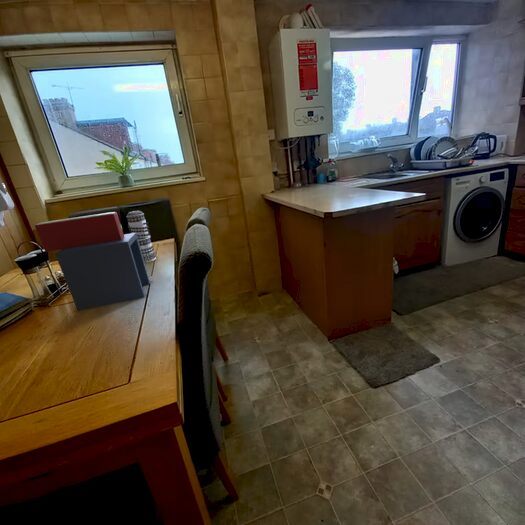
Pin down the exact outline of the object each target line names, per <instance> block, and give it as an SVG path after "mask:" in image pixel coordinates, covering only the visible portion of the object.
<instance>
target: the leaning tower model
mask: <svg viewBox="0 0 525 525" xmlns="http://www.w3.org/2000/svg"><path fill="white" fill-rule="evenodd" d="M126 218H127V223H128V224H127V228H128V231H129V232H130V233H136V235H137V238H138V242H139V245H140V249H141V252H142V256H143V259H144V263H145V264H147V263H151V262H153V261H155V260H157V257H156V256H157V255H156V252H155V249H154V245H153V243H152V241H151V233H150V229H149V228H150V226H148V224H149V223H148V222H147V221H146V218H145V213H144V212H143V211H141V210H133V211H129V212H128V213H127V215H126Z"/></svg>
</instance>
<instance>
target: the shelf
mask: <svg viewBox="0 0 525 525" xmlns="http://www.w3.org/2000/svg"><path fill="white" fill-rule="evenodd" d="M123 234H124V233H123ZM54 255H55V257H56V260H57V262H58V265H59V267H60V270H61V272H62V275H63V278H64V280H65V284H66V285H67V287H68V290H69V293H70V295H71V297H72V301H73V303H74V305H75V308H76V310H77V311H82V310H87V309H93V308H97V307H102V306H107V305H112V304H117V303H122V302H127V301H133V300H138V299H143V298H145V296H146V295H145V292H144V287H143V286H146V285H150V283H151V281H150V278H149V274H148V270H147V267H146V263H144V259H143V256H142V252H141V249H140V245H139V242H138V238H137V235H136V233H131V232H130V233H125V234H124V238H123V239H122V240H117V241H111V242H104V243H98V244H92V245H86V246H80V247H73V248H67V249H61V250H57V252H55V253H54Z"/></svg>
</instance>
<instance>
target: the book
mask: <svg viewBox="0 0 525 525" xmlns="http://www.w3.org/2000/svg"><path fill="white" fill-rule="evenodd" d="M109 212H110V213H108V212H103V213H97V214H89V215H83V216H77V217H69V218H62V219H55V220H50V221H43V222H39V223H36V224H34V228H35V231H36V232H37V235H38V238H39V240H40V243H41V245H42V247H43V250H44V252H45V253H48V252H53V251H60V250H62V249H67V248H73V247H80V246H86V245H92V244H98V243H104V242H111V241H117V240H122V239H123V238H124V231H123V227H122V228H121V226H122V224H121V222H120V217H119V214H118V213H117V211H109Z"/></svg>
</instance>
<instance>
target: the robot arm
mask: <svg viewBox="0 0 525 525" xmlns="http://www.w3.org/2000/svg"><path fill="white" fill-rule="evenodd" d="M14 208H15V203H14V201H13V199H12V198H11V196H10V193H9V192H8V190H7V187H6V185H5V183H3V182H2V181H0V227H5V222H4V218H5V213H4V211H10V210H14Z"/></svg>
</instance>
